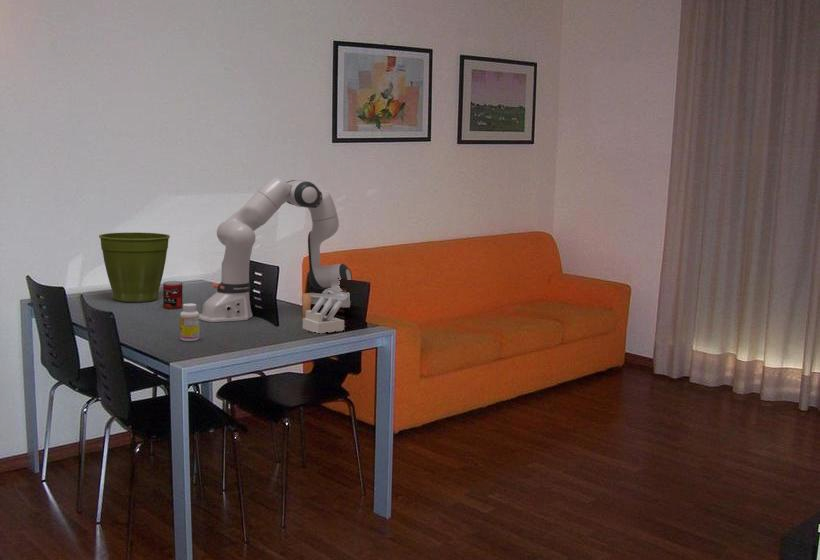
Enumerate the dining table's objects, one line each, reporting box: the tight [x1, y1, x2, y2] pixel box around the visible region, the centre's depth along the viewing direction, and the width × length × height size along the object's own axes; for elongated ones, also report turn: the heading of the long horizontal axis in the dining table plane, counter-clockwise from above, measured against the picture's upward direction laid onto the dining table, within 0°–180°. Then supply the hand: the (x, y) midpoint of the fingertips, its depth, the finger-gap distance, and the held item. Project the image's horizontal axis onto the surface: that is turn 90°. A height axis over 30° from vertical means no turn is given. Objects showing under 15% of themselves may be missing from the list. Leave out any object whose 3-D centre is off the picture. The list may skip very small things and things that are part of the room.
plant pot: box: [98, 231, 171, 303], centre depth 378 cm, size 30×30×29 cm
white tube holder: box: [302, 297, 345, 334], centre depth 332 cm, size 14×11×13 cm
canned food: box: [162, 280, 183, 310], centre depth 363 cm, size 8×8×11 cm
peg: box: [301, 292, 312, 325], centre depth 341 cm, size 3×3×12 cm
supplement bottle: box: [179, 302, 200, 342], centre depth 305 cm, size 7×7×13 cm
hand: (317, 302), depth 350 cm, fingers open, 8 cm apart
